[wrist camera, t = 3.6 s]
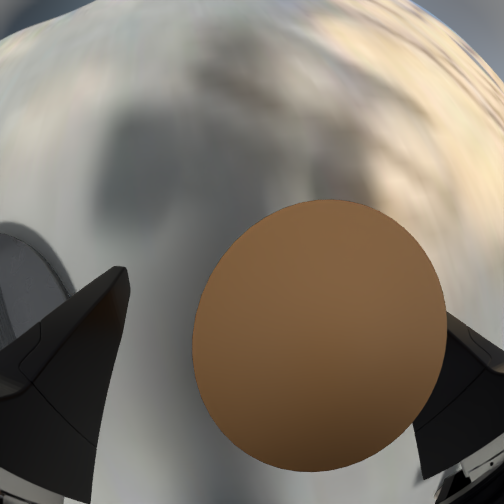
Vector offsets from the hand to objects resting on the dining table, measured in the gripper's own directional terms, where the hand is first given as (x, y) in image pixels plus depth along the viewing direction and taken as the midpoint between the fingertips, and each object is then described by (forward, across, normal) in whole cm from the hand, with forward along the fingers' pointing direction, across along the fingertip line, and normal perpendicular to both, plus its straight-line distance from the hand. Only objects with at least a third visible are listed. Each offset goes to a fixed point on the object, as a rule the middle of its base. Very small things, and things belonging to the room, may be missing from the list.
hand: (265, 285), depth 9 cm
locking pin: (+4, 0, +6) cm, 7 cm away
